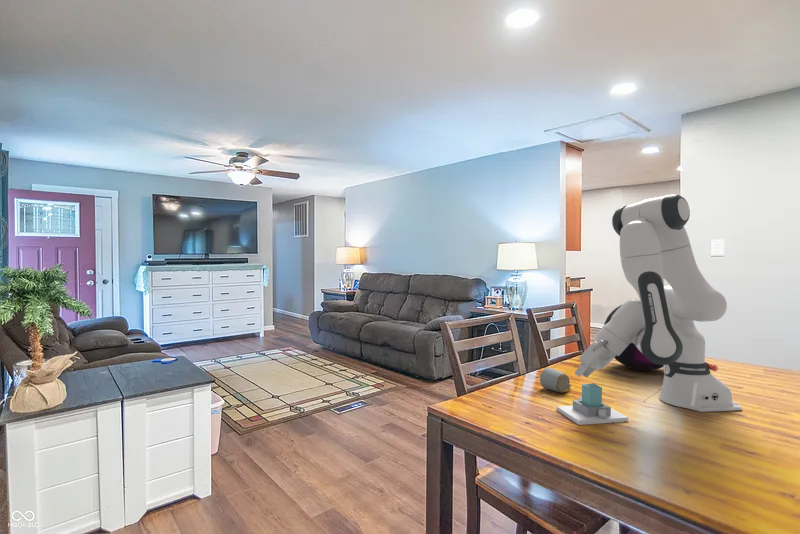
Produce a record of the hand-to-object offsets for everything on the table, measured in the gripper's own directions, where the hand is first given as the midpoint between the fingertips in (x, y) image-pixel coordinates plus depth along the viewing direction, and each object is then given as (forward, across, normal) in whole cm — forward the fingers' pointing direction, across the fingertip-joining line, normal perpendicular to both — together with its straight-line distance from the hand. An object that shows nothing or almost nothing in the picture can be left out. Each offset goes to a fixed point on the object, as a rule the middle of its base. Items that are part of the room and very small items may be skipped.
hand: (580, 375), depth 133 cm
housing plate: (+7, -1, -10) cm, 12 cm away
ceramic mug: (+12, +18, +6) cm, 23 cm away
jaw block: (+6, -2, -9) cm, 11 cm away
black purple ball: (-10, +69, -4) cm, 70 cm away
